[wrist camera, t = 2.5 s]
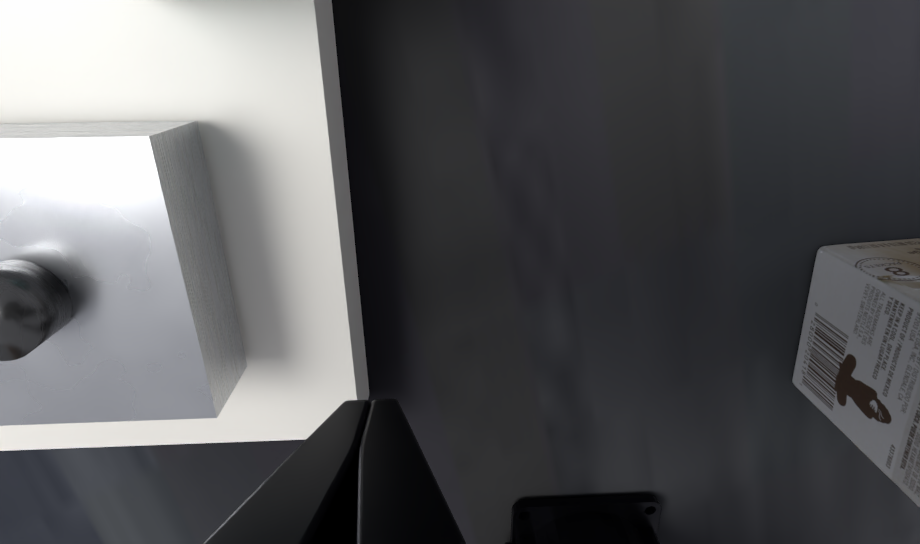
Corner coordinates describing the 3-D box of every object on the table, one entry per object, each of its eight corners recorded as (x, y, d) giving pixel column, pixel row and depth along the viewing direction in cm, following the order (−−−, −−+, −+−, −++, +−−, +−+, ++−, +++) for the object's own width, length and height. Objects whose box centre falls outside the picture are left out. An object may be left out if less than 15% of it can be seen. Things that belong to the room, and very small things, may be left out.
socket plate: (330, -13, 15) (311, -23, 13) (369, 393, 21) (361, 437, 18) (-337, -9, 14) (-484, -18, 12) (-109, 409, 20) (-180, 457, 18)
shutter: (197, 120, 14) (117, 146, 10) (247, 366, 17) (198, 449, 13) (-105, 125, 13) (-289, 153, 10) (2, 374, 16) (-112, 460, 13)
